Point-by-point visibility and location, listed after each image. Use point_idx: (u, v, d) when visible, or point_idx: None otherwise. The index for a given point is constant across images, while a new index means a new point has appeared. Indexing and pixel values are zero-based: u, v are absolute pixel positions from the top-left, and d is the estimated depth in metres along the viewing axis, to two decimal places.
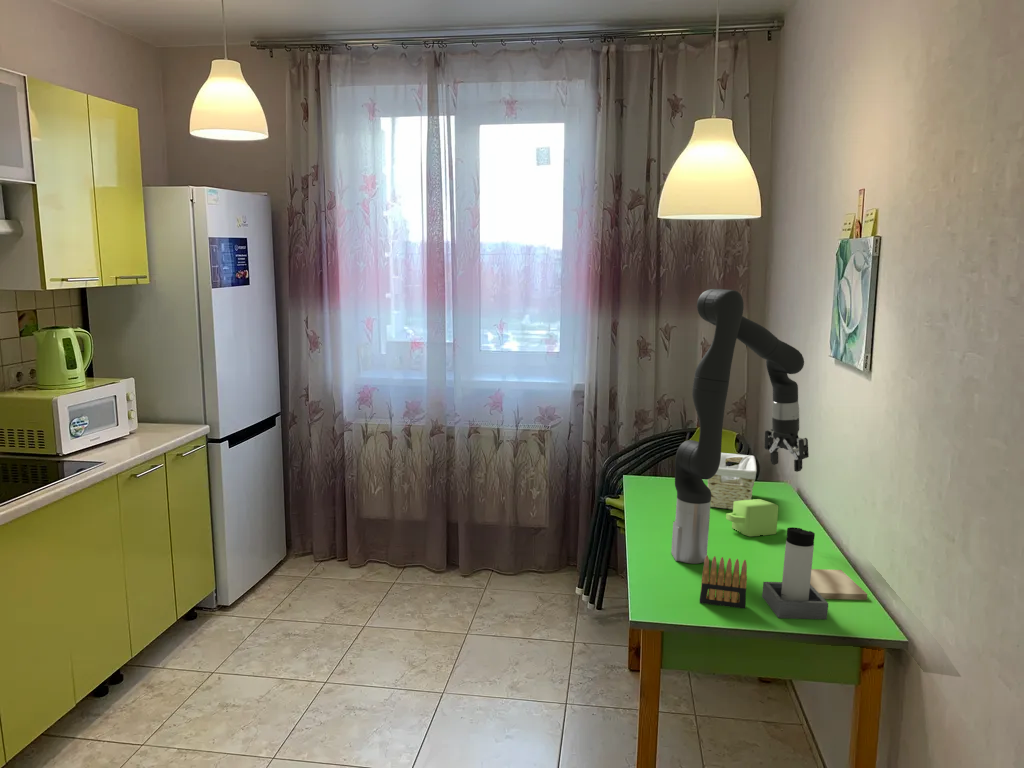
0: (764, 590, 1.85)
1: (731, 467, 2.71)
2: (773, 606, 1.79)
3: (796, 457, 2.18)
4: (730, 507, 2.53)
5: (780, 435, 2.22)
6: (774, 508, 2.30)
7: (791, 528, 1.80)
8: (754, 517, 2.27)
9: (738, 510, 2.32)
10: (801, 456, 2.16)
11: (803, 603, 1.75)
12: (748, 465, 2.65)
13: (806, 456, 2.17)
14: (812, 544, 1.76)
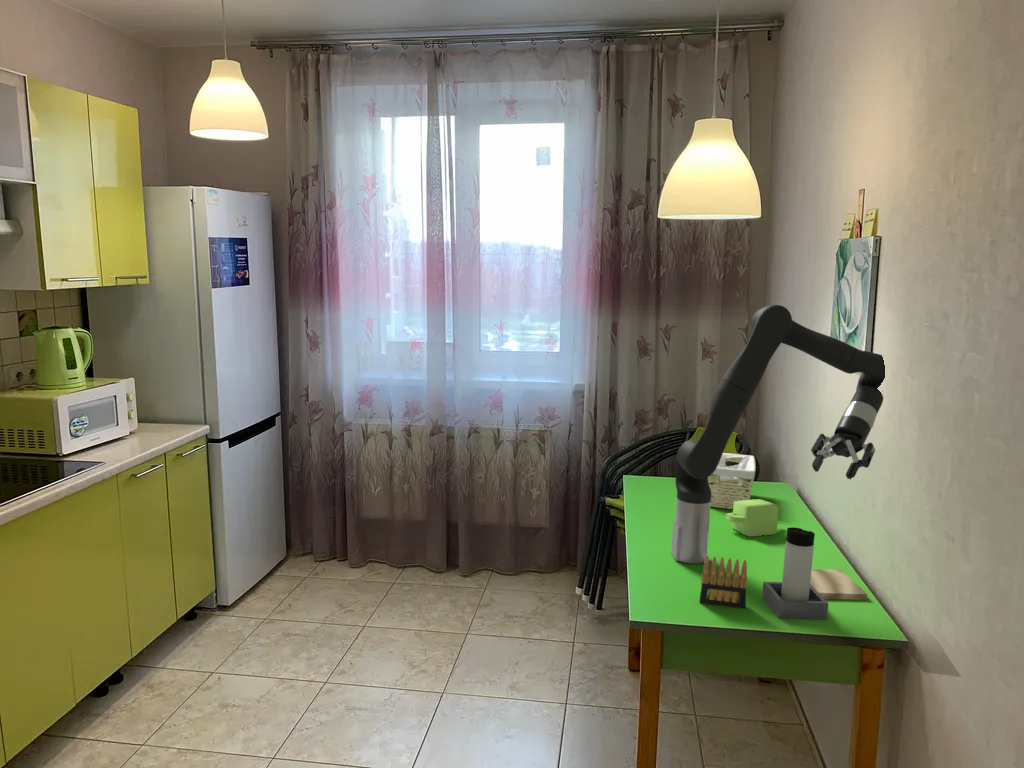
0: (764, 590, 1.85)
1: (731, 467, 2.71)
2: (773, 606, 1.79)
3: (856, 459, 1.85)
4: (729, 507, 2.54)
5: (841, 438, 1.91)
6: (774, 508, 2.30)
7: (791, 528, 1.80)
8: (754, 517, 2.27)
9: (738, 510, 2.32)
10: (864, 459, 1.84)
11: (803, 603, 1.75)
12: (747, 465, 2.65)
13: (867, 464, 1.84)
14: (812, 544, 1.76)
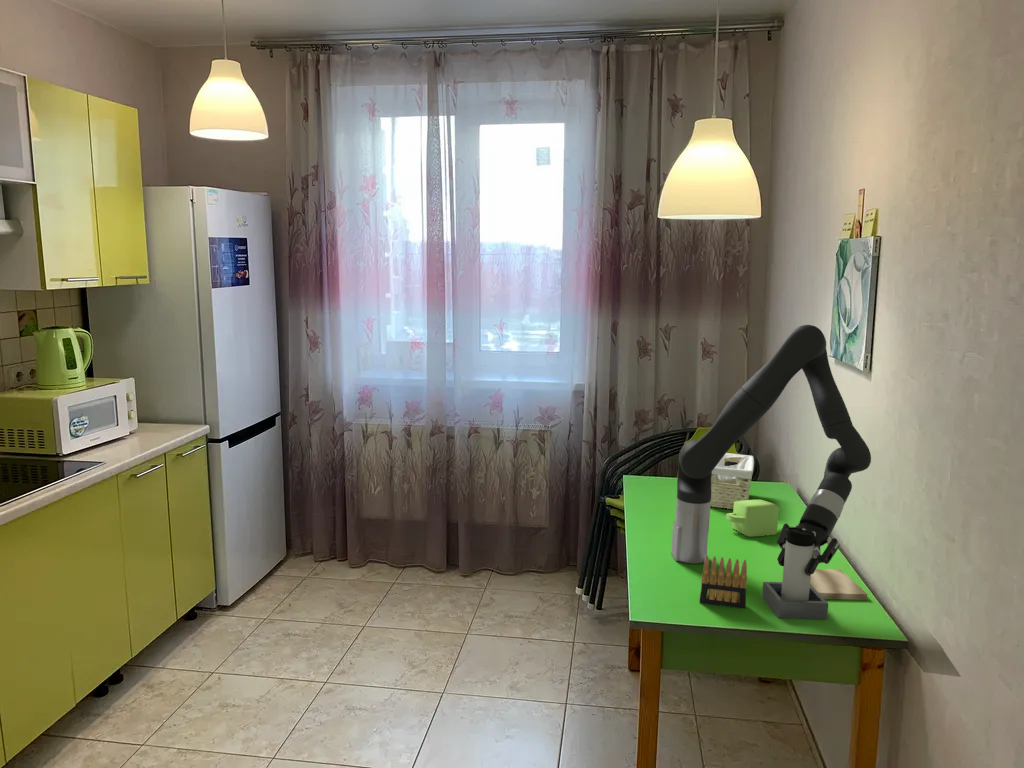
0: (764, 590, 1.85)
1: (730, 467, 2.71)
2: (773, 606, 1.79)
3: (816, 555, 1.76)
4: (726, 506, 2.54)
5: (807, 529, 1.82)
6: (774, 509, 2.29)
7: (791, 528, 1.80)
8: (754, 517, 2.27)
9: (738, 510, 2.32)
10: (824, 555, 1.75)
11: (803, 603, 1.75)
12: (746, 465, 2.65)
13: (827, 560, 1.76)
14: (812, 544, 1.76)
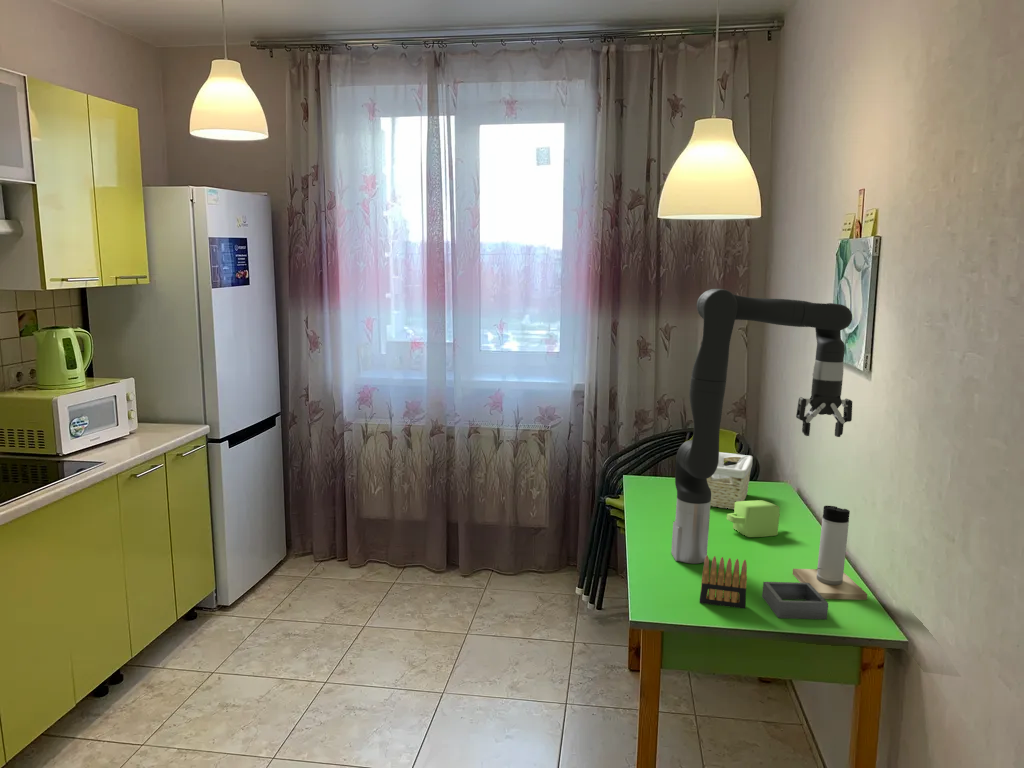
0: (764, 590, 1.85)
1: (729, 467, 2.72)
2: (773, 606, 1.79)
3: (843, 420, 2.03)
4: (720, 505, 2.55)
5: (823, 400, 2.02)
6: (775, 510, 2.29)
7: (827, 506, 1.93)
8: (754, 517, 2.27)
9: (738, 510, 2.31)
10: (850, 418, 2.03)
11: (803, 603, 1.75)
12: (744, 465, 2.65)
13: None
14: (847, 521, 1.89)
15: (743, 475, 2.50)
